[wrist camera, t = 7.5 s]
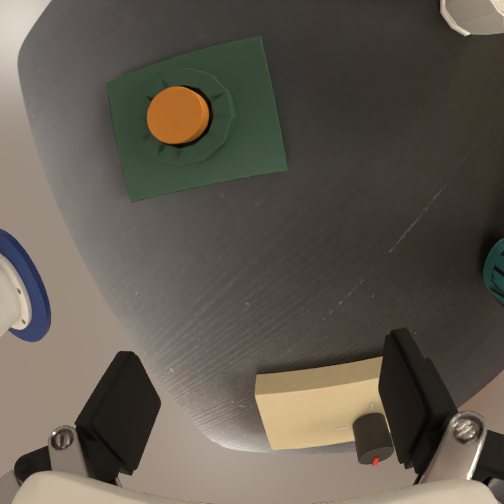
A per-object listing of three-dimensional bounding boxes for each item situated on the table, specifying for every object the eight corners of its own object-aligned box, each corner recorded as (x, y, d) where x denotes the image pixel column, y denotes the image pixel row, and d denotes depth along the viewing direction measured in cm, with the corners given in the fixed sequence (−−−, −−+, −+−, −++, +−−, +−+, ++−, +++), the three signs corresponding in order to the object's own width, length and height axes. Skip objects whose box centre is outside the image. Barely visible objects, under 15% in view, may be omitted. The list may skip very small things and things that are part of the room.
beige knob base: (272, 433, 33) (271, 451, 30) (256, 374, 29) (254, 396, 26) (390, 414, 31) (396, 432, 28) (403, 351, 27) (413, 370, 24)
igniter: (142, 197, 23) (119, 208, 19) (119, 86, 19) (93, 80, 16) (286, 167, 21) (289, 173, 18) (262, 45, 18) (259, 26, 14)
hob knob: (352, 416, 27) (359, 455, 22) (386, 409, 26) (397, 445, 22) (351, 434, 28) (357, 469, 24) (383, 427, 28) (391, 461, 23)
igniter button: (162, 149, 18) (152, 150, 16) (153, 99, 17) (141, 96, 15) (214, 136, 17) (208, 135, 16) (204, 84, 16) (197, 79, 15)
